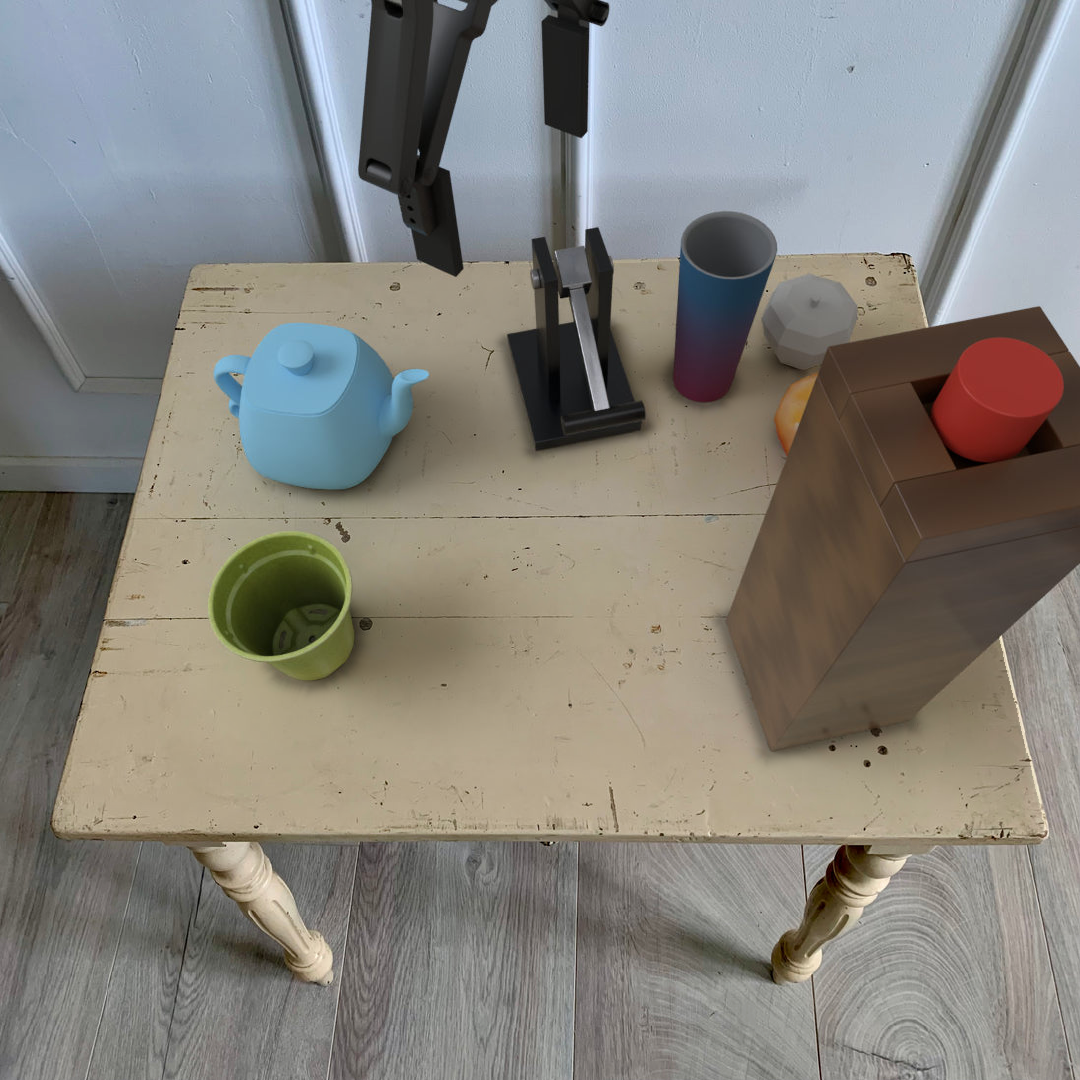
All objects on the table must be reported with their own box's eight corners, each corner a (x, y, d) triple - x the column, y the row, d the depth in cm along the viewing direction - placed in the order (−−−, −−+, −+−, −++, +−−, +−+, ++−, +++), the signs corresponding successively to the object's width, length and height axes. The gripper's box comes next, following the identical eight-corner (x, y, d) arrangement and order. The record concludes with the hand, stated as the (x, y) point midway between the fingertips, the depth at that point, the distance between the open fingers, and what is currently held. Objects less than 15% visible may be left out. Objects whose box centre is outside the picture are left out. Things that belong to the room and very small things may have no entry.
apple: (749, 316, 79) (762, 261, 74) (838, 317, 79) (859, 261, 73) (756, 387, 75) (771, 334, 70) (850, 388, 75) (872, 335, 69)
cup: (758, 386, 76) (797, 251, 62) (696, 424, 74) (722, 293, 61) (707, 337, 78) (734, 197, 65) (646, 372, 77) (661, 236, 64)
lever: (642, 423, 66) (648, 416, 63) (563, 438, 65) (566, 432, 63) (605, 253, 66) (609, 240, 64) (527, 267, 66) (528, 254, 64)
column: (909, 720, 61) (1161, 489, 35) (770, 752, 60) (921, 539, 34) (854, 593, 66) (1040, 305, 40) (725, 620, 65) (827, 345, 39)
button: (1045, 453, 37) (1084, 405, 34) (954, 471, 36) (986, 425, 34) (1001, 379, 39) (1034, 328, 36) (914, 396, 38) (941, 346, 36)
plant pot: (369, 705, 63) (342, 660, 55) (239, 704, 63) (193, 660, 56) (383, 586, 67) (359, 530, 60) (261, 586, 68) (222, 530, 60)
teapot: (406, 438, 61) (162, 406, 63) (428, 517, 70) (215, 487, 72) (448, 303, 67) (223, 278, 69) (463, 392, 76) (265, 368, 78)
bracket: (641, 430, 74) (655, 303, 61) (535, 451, 73) (527, 327, 60) (605, 324, 79) (612, 187, 66) (507, 342, 79) (494, 208, 66)
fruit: (910, 467, 69) (887, 422, 63) (814, 507, 73) (783, 469, 66) (875, 387, 73) (849, 338, 67) (785, 429, 76) (752, 385, 70)
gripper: (557, -387, 40) (562, 61, 59) (174, -141, 30) (325, 303, 49) (706, -359, 38) (662, 96, 57) (346, -85, 28) (436, 357, 47)
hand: (506, 193), depth 53 cm, fingers open, 13 cm apart
